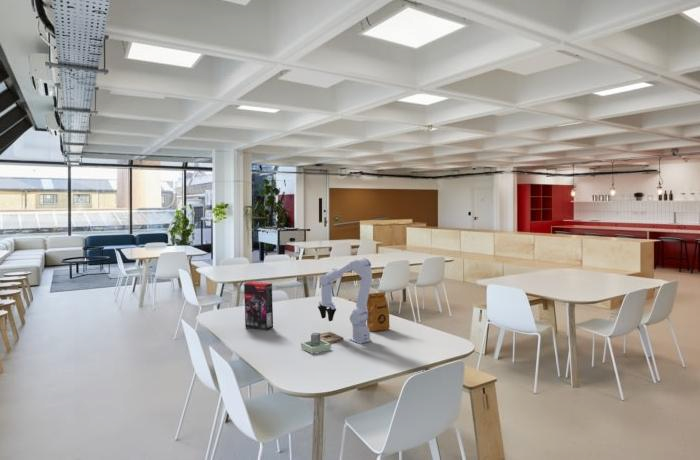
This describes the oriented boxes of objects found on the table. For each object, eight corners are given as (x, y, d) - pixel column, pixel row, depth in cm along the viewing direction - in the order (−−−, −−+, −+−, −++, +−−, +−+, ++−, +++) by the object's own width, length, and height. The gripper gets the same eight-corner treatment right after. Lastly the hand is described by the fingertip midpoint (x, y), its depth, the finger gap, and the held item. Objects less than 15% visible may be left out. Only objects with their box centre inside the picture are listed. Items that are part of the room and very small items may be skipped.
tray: (330, 349, 218) (330, 343, 218) (311, 354, 212) (311, 348, 212) (319, 344, 227) (319, 338, 227) (301, 348, 221) (300, 342, 221)
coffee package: (391, 330, 249) (391, 293, 247) (371, 333, 244) (371, 295, 243) (384, 326, 258) (383, 290, 257) (365, 328, 254) (364, 291, 252)
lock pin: (320, 346, 221) (320, 333, 220) (317, 348, 217) (317, 335, 217) (313, 346, 222) (313, 332, 221) (311, 348, 218) (310, 334, 218)
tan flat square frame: (343, 340, 233) (343, 337, 233) (324, 344, 226) (324, 341, 226) (329, 334, 244) (329, 331, 244) (311, 338, 237) (311, 335, 237)
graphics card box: (244, 327, 260) (242, 283, 259) (251, 324, 266) (250, 281, 265) (266, 331, 252) (265, 285, 251) (274, 328, 258) (272, 283, 257)
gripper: (339, 296, 239) (340, 321, 240) (325, 292, 251) (326, 315, 252) (328, 298, 235) (329, 323, 236) (315, 294, 247) (316, 317, 248)
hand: (327, 319), depth 244 cm, fingers open, 7 cm apart
